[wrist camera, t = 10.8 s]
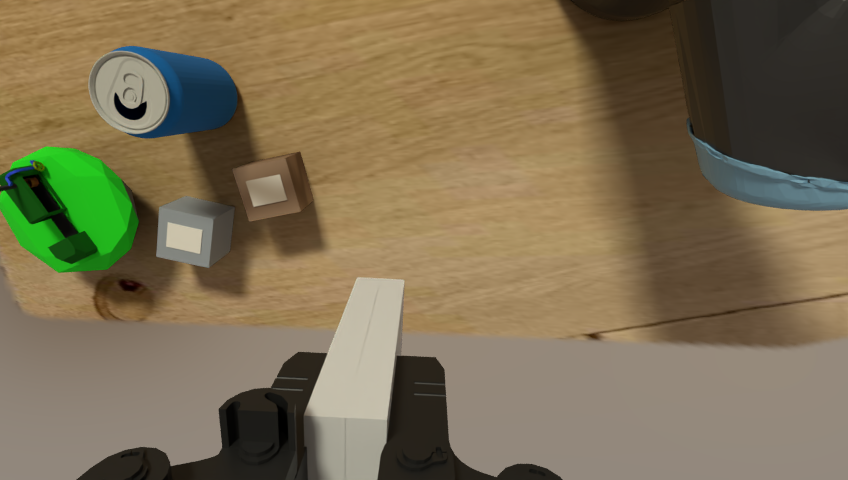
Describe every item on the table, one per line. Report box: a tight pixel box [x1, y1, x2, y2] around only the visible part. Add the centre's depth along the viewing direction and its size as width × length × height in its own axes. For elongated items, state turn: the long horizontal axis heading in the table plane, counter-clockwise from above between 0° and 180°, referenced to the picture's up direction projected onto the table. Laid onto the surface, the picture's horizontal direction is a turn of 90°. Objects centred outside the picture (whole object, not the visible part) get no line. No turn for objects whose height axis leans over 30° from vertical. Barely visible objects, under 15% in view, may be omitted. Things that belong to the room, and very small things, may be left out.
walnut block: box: [232, 152, 313, 222], centre depth 44 cm, size 5×5×5 cm
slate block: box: [156, 196, 235, 268], centre depth 45 cm, size 5×5×5 cm
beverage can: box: [89, 46, 237, 138], centre depth 38 cm, size 6×6×12 cm
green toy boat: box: [0, 147, 139, 273], centre depth 42 cm, size 12×12×11 cm
